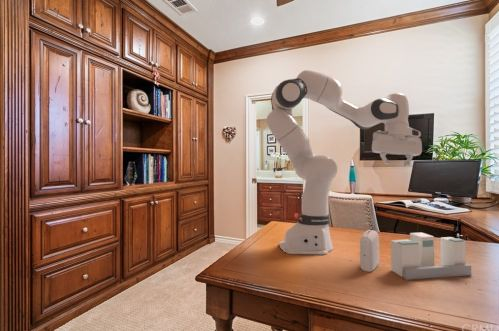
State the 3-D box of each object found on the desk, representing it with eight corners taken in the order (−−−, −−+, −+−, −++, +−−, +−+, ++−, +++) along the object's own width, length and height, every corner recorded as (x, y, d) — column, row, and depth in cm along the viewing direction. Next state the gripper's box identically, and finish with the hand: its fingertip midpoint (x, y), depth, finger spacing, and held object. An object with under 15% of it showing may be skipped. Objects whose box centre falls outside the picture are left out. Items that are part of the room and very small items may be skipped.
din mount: (406, 279, 75) (405, 245, 75) (391, 270, 82) (390, 239, 81) (471, 275, 77) (470, 241, 77) (451, 266, 84) (451, 235, 84)
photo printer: (372, 273, 80) (372, 235, 80) (358, 269, 82) (358, 232, 82) (380, 263, 87) (380, 228, 87) (367, 260, 90) (367, 226, 90)
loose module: (422, 270, 81) (421, 237, 81) (410, 264, 86) (409, 233, 86) (434, 269, 81) (434, 236, 81) (422, 263, 87) (421, 232, 86)
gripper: (377, 128, 100) (377, 162, 99) (424, 132, 102) (424, 165, 100) (368, 132, 106) (368, 163, 105) (413, 136, 108) (413, 167, 107)
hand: (396, 164), depth 103 cm, fingers open, 8 cm apart
